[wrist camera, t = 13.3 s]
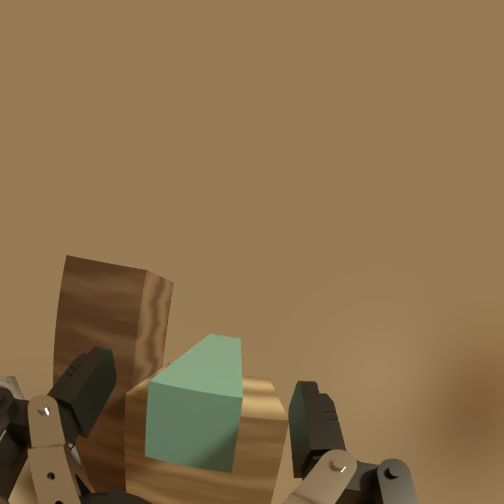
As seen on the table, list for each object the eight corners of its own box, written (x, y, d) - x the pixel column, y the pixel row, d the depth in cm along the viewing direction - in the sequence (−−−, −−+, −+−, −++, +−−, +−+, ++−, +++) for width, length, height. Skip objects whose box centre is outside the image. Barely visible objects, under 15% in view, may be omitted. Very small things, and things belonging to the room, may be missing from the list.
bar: (231, 472, 10) (242, 397, 11) (145, 456, 10) (148, 380, 11) (236, 367, 35) (240, 338, 36) (206, 363, 35) (209, 334, 36)
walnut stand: (133, 520, 20) (146, 270, 26) (65, 493, 20) (66, 255, 26) (155, 478, 32) (173, 282, 38) (98, 460, 31) (110, 271, 38)
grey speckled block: (-14, 422, 24) (-19, 370, 26) (24, 426, 31) (21, 376, 33) (-6, 452, 18) (-17, 394, 21) (38, 454, 25) (32, 399, 27)
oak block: (249, 576, 13) (288, 420, 18) (134, 557, 13) (125, 393, 18) (245, 511, 27) (269, 378, 31) (160, 497, 27) (169, 362, 31)
